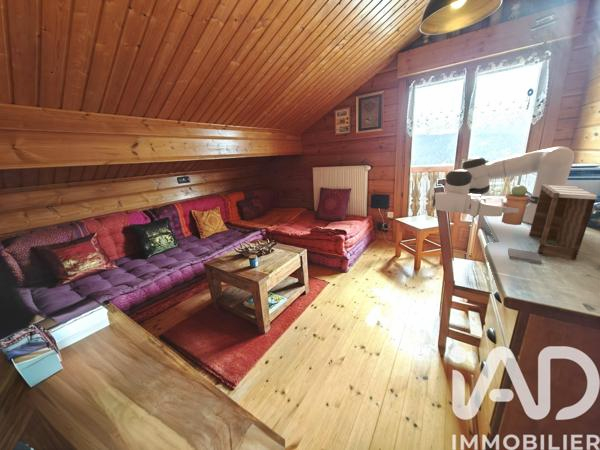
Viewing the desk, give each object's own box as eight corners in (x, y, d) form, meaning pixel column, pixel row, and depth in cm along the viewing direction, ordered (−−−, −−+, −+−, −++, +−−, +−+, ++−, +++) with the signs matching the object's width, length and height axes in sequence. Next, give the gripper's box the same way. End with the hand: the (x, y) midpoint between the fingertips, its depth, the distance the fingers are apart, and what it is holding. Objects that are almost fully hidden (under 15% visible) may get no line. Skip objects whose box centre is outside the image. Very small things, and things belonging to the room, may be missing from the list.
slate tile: (507, 250, 94) (508, 247, 94) (537, 254, 89) (537, 252, 89) (509, 258, 87) (510, 255, 87) (541, 263, 82) (541, 261, 82)
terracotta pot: (499, 219, 99) (508, 183, 95) (522, 222, 95) (532, 184, 90) (499, 223, 94) (508, 185, 90) (523, 226, 90) (534, 187, 85)
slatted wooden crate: (528, 235, 109) (541, 184, 102) (559, 239, 103) (575, 185, 96) (537, 254, 90) (554, 192, 83) (575, 260, 84) (597, 194, 77)
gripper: (475, 206, 109) (514, 210, 101) (471, 216, 94) (517, 222, 86) (477, 193, 107) (518, 196, 99) (474, 201, 92) (521, 205, 84)
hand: (518, 208), depth 92 cm, fingers closed on terracotta pot, 6 cm apart
